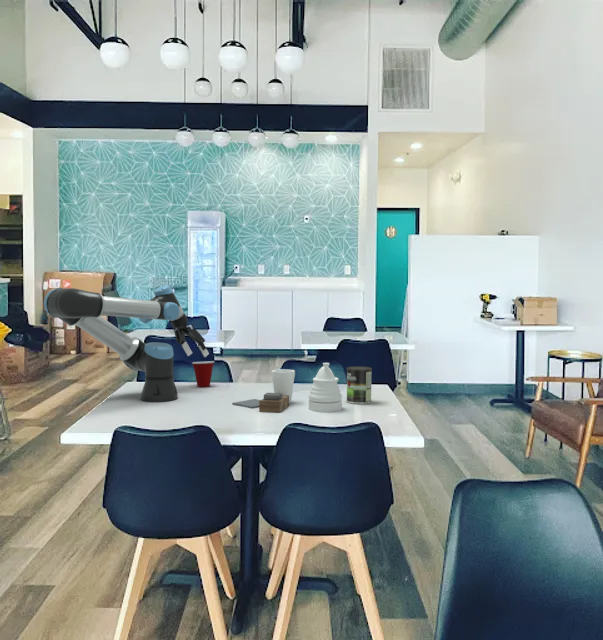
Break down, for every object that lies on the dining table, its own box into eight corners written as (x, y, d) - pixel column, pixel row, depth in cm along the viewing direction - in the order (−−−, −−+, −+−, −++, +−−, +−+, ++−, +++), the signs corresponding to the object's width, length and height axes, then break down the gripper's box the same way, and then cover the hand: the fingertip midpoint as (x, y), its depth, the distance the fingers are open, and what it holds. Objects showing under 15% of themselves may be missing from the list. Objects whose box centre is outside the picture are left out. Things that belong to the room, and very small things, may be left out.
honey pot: (344, 411, 232) (345, 364, 232) (311, 412, 231) (311, 365, 230) (338, 405, 245) (338, 360, 244) (306, 406, 243) (306, 360, 242)
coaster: (252, 408, 239) (252, 406, 239) (232, 404, 247) (232, 402, 247) (274, 404, 247) (274, 402, 247) (254, 400, 256) (254, 398, 255)
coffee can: (355, 405, 245) (355, 370, 244) (341, 401, 254) (341, 367, 253) (376, 402, 250) (376, 368, 249) (362, 398, 259) (362, 365, 258)
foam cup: (267, 401, 252) (267, 370, 251) (285, 399, 257) (285, 368, 257) (280, 405, 244) (280, 373, 244) (299, 402, 250) (299, 371, 249)
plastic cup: (207, 383, 300) (207, 359, 299) (219, 386, 292) (219, 361, 291) (187, 386, 293) (187, 361, 292) (199, 388, 285) (198, 363, 284)
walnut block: (279, 412, 231) (279, 396, 230) (259, 411, 232) (259, 395, 232) (289, 405, 244) (289, 390, 244) (269, 404, 246) (269, 389, 246)
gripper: (198, 311, 272) (219, 351, 280) (168, 312, 290) (189, 349, 298) (186, 321, 268) (208, 360, 276) (156, 321, 286) (178, 358, 294)
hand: (198, 355), depth 287 cm, fingers open, 13 cm apart
